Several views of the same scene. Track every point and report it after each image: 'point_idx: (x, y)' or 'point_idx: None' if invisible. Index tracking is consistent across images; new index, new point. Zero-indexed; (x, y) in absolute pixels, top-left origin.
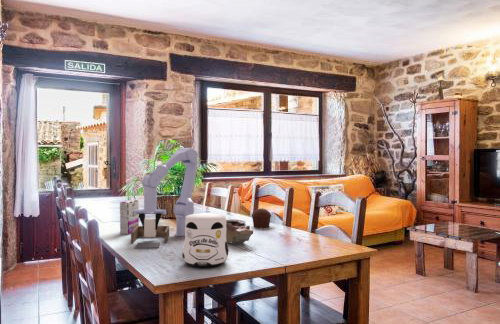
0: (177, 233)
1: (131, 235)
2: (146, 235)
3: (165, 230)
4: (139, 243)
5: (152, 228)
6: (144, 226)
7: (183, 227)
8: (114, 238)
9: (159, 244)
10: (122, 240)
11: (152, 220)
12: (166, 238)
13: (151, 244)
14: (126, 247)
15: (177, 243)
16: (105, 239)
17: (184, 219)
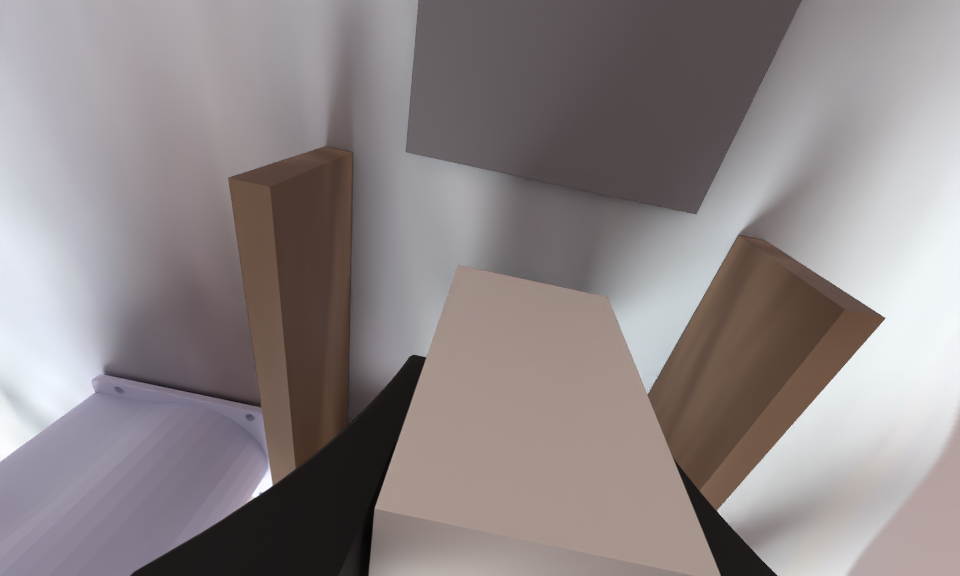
0: (246, 441)
1: (840, 290)
2: (578, 300)
3: (280, 324)
4: (687, 161)
5: (483, 347)
6: (646, 411)
7: (127, 467)
8: (819, 490)
9: (417, 54)
10: None
11: (463, 504)
12: (298, 156)
13: (535, 31)
14: (938, 14)
15: (182, 79)
16: (917, 483)
17: (8, 569)
